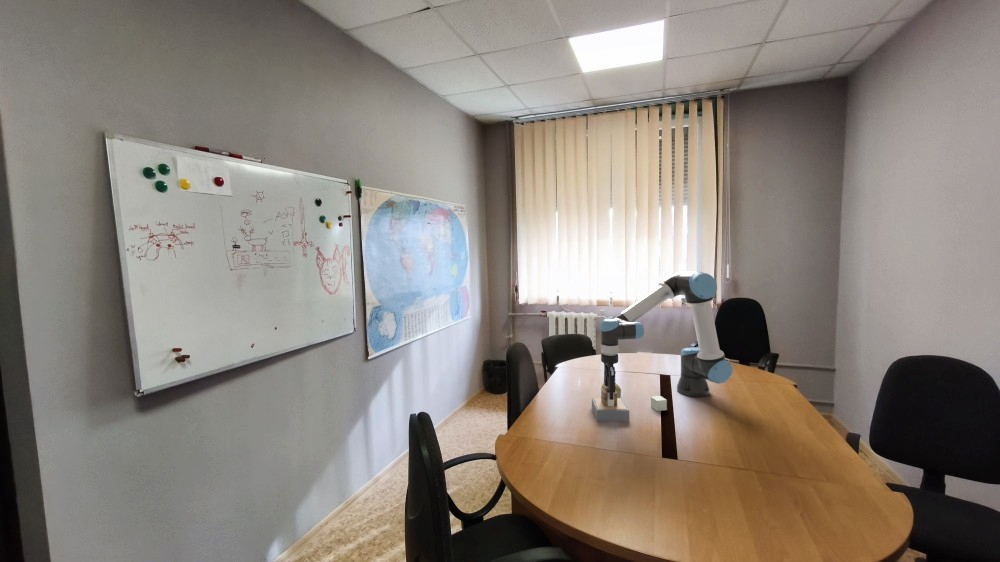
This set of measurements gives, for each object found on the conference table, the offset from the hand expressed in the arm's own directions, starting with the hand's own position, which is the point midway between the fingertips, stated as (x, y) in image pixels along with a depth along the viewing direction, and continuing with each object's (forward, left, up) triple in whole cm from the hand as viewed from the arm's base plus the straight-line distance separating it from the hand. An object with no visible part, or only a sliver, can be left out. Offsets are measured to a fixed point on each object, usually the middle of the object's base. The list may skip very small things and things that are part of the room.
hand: (609, 402), depth 177 cm
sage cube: (-24, -7, -6) cm, 26 cm away
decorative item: (-5, -21, -6) cm, 22 cm away
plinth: (0, 0, -5) cm, 6 cm away
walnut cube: (0, 0, 0) cm, 0 cm away
